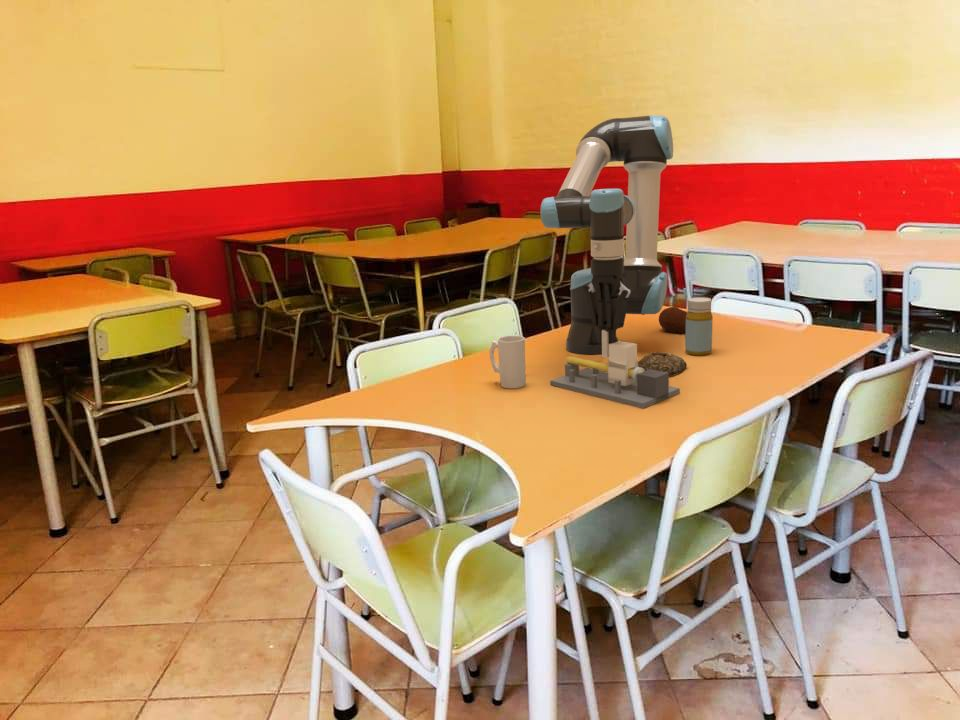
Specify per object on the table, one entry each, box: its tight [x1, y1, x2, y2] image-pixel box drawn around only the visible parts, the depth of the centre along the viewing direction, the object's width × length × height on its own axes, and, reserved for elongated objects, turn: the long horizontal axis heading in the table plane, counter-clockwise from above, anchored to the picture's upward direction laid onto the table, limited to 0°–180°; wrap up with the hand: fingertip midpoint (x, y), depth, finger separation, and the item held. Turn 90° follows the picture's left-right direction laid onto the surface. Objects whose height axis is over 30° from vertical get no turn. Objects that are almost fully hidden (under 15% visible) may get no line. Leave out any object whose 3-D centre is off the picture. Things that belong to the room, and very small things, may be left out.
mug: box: [489, 335, 527, 390], centre depth 186 cm, size 10×7×12 cm, turn 54°
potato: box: [658, 306, 688, 334], centre depth 230 cm, size 8×12×8 cm, turn 50°
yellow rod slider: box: [549, 355, 681, 410], centre depth 179 cm, size 28×14×7 cm, turn 42°
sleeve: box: [607, 340, 639, 386], centre depth 175 cm, size 5×5×9 cm
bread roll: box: [638, 351, 687, 377], centre depth 193 cm, size 13×12×5 cm
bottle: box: [684, 297, 714, 357], centre depth 204 cm, size 7×7×15 cm
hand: (608, 356), depth 178 cm, fingers closed
